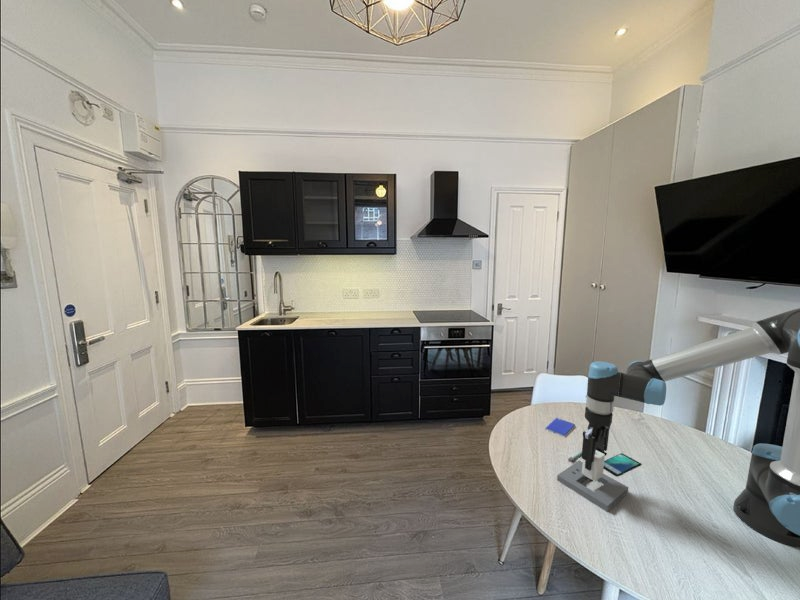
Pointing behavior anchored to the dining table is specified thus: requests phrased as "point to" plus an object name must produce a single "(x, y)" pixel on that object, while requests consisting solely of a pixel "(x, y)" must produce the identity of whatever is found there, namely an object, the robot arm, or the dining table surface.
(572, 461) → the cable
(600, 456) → the charger
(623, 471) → the smartphone
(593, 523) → the dining table surface
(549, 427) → the hard drive
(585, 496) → the outlet plate
